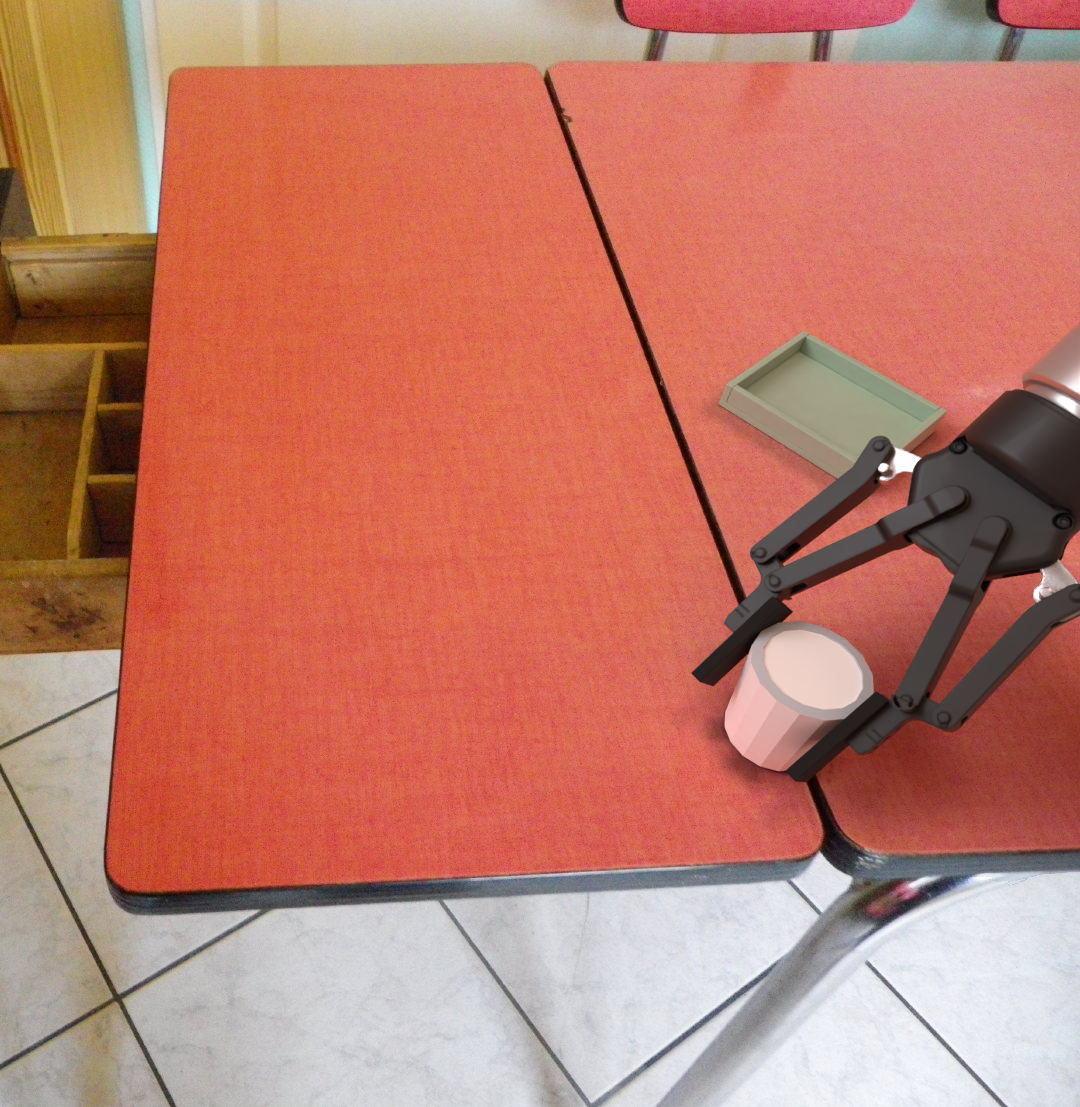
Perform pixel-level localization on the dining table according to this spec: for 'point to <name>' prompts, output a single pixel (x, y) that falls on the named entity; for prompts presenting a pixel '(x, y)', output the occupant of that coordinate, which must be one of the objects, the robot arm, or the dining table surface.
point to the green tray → (828, 404)
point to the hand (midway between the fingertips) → (747, 726)
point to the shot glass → (794, 692)
